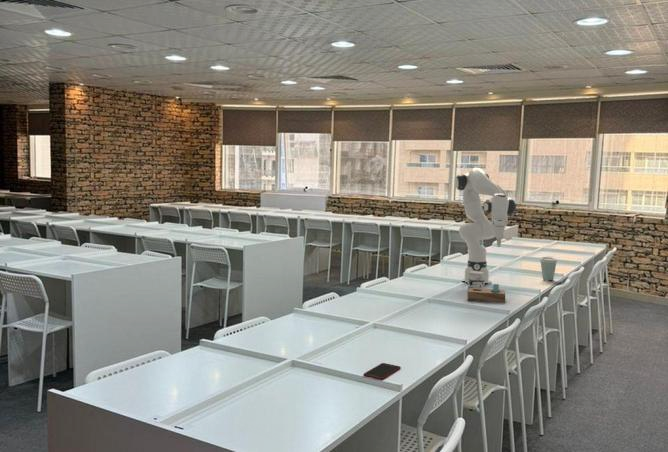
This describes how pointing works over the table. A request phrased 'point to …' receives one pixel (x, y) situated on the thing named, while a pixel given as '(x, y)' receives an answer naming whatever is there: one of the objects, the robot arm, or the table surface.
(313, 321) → the table surface
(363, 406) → the table surface
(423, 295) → the table surface
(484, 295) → the block
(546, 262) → the disposable coffee cup
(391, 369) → the cell phone
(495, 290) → the pin
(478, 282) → the ink box
